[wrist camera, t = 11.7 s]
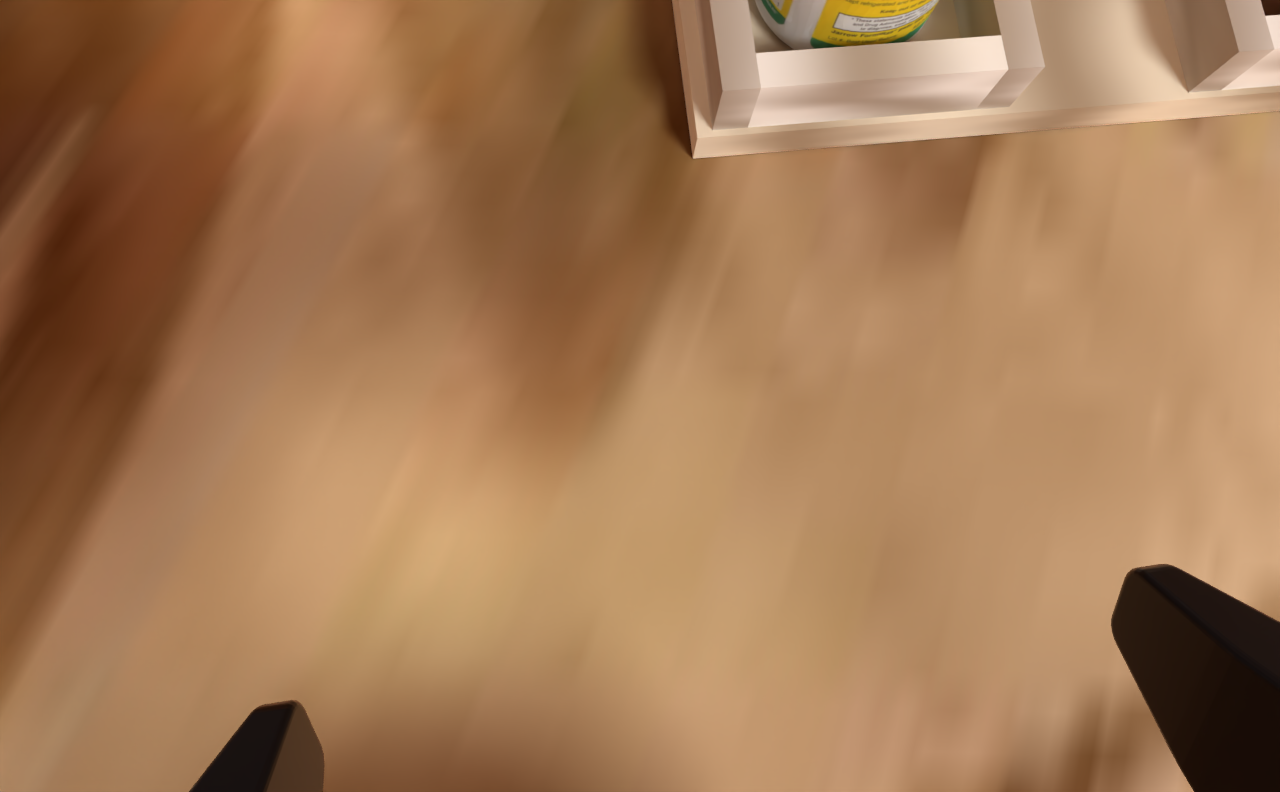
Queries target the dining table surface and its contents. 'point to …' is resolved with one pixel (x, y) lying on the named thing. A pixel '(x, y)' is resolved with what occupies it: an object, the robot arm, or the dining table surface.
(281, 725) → the robot arm
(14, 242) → the dining table surface
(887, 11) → the supplement bottle
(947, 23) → the candle holder
